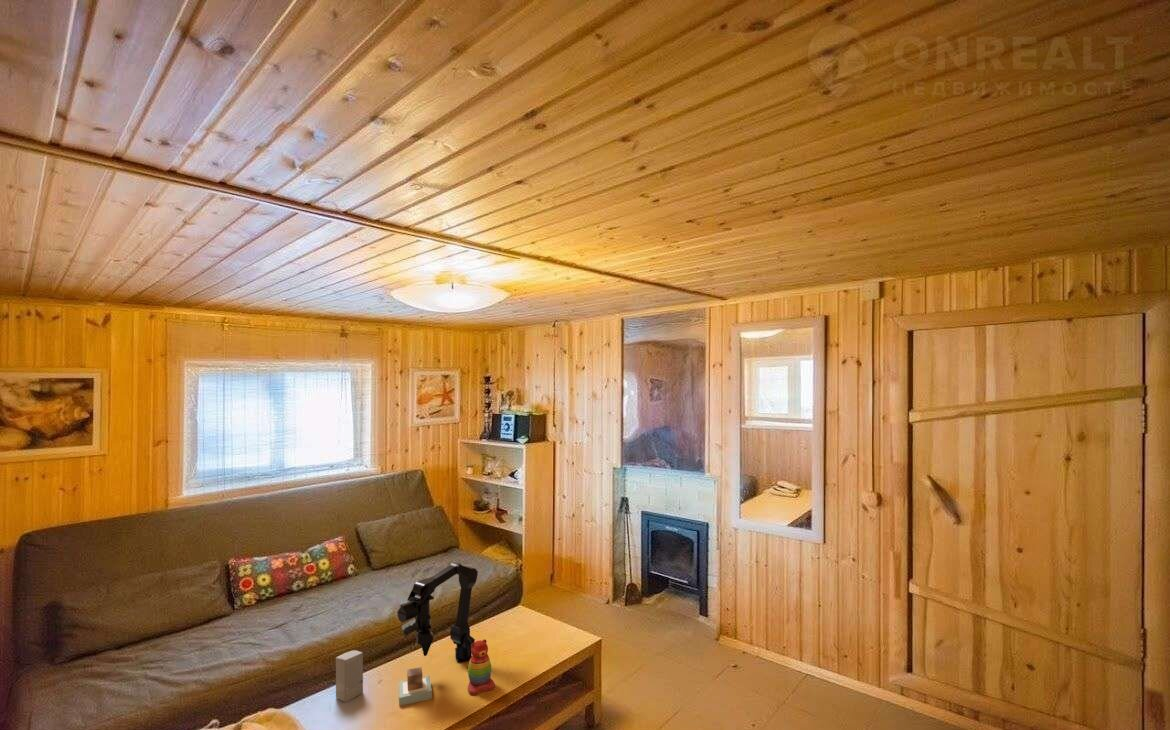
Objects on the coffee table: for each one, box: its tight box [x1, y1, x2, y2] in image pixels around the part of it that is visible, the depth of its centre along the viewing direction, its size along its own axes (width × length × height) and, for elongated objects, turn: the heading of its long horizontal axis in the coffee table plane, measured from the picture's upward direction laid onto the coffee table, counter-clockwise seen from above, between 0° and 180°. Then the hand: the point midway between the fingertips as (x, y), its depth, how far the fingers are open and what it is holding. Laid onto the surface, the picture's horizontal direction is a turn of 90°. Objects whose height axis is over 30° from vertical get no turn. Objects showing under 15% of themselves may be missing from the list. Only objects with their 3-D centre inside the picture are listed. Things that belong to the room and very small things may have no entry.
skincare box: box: [335, 649, 364, 703], centre depth 210 cm, size 8×7×16 cm
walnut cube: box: [406, 666, 423, 691], centre depth 209 cm, size 6×6×6 cm
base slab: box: [398, 675, 433, 707], centre depth 209 cm, size 12×12×3 cm
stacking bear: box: [467, 639, 496, 696], centre depth 213 cm, size 11×10×18 cm
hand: (424, 650), depth 220 cm, fingers open, 9 cm apart
